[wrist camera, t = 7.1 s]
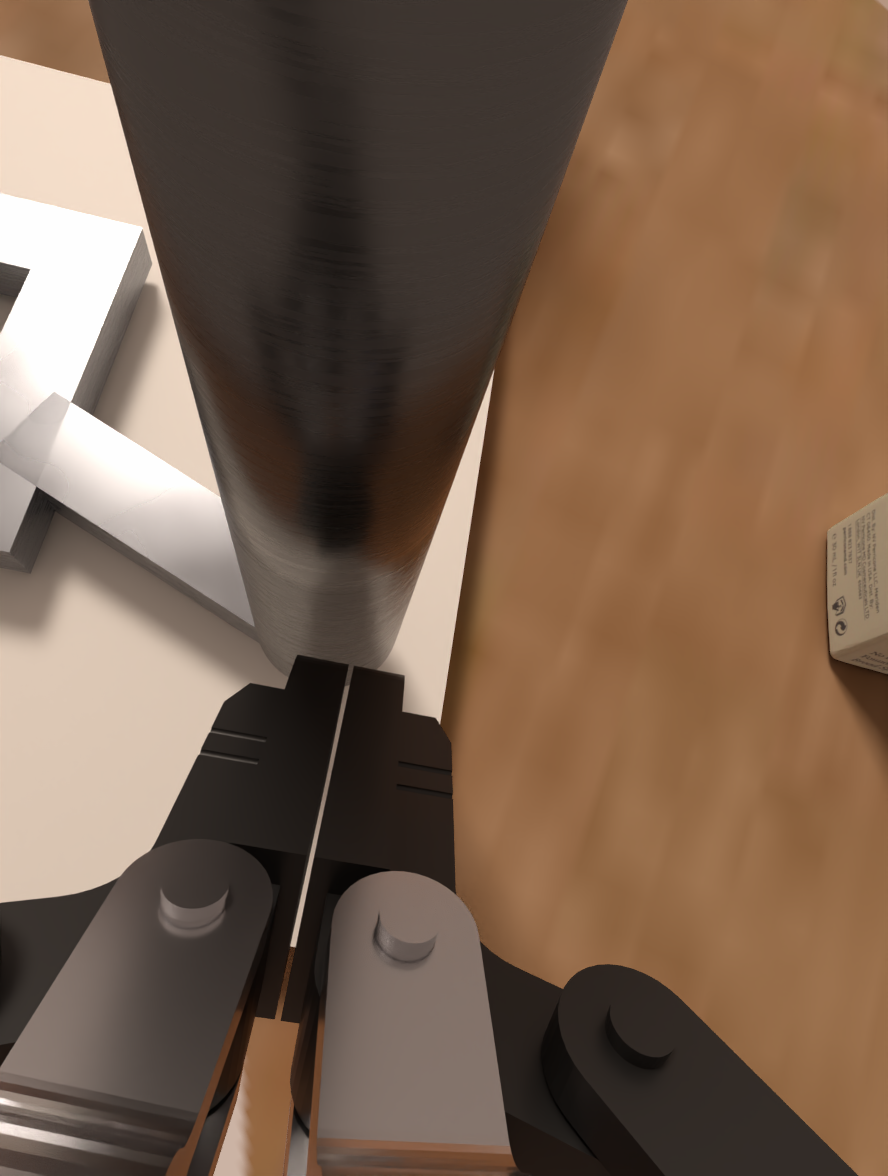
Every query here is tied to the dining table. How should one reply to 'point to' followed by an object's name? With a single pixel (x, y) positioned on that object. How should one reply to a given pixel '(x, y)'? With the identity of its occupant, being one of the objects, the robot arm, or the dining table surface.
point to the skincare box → (859, 587)
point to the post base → (139, 568)
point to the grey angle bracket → (294, 292)
